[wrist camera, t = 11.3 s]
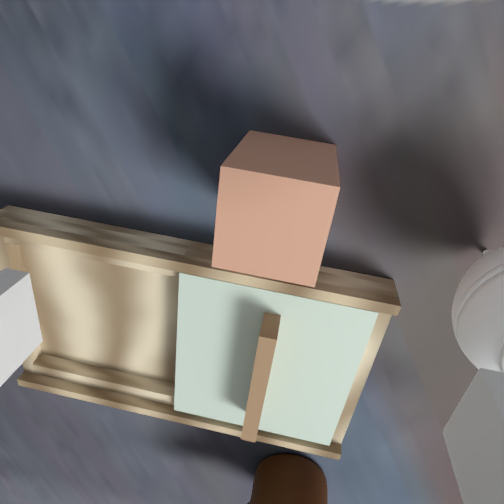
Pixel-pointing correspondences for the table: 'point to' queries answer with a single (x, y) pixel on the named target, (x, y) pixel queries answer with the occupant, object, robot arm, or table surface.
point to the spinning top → (482, 311)
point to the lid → (266, 358)
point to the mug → (288, 481)
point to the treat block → (276, 207)
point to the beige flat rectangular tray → (146, 314)
